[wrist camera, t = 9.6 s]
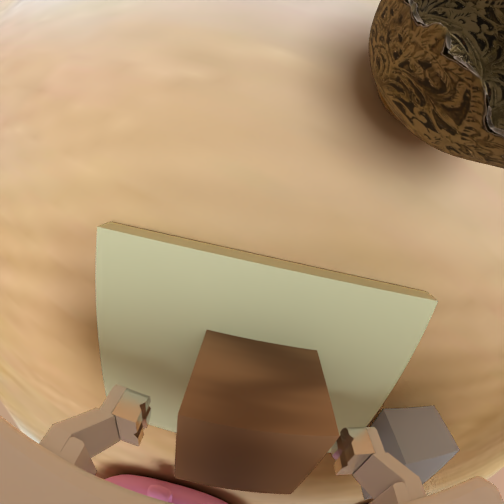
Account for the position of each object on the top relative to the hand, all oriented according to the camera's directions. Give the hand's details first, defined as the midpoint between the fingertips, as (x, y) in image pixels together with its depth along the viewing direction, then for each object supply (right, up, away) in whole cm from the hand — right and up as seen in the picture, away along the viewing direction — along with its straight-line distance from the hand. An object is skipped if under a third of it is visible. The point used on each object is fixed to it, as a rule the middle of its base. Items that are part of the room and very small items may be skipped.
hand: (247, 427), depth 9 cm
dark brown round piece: (+7, +14, 0) cm, 16 cm away
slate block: (+11, -6, +6) cm, 14 cm away
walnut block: (0, +1, +3) cm, 3 cm away
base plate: (0, +1, +4) cm, 4 cm away
